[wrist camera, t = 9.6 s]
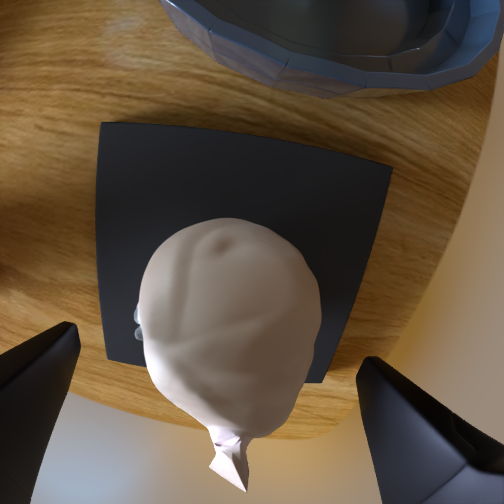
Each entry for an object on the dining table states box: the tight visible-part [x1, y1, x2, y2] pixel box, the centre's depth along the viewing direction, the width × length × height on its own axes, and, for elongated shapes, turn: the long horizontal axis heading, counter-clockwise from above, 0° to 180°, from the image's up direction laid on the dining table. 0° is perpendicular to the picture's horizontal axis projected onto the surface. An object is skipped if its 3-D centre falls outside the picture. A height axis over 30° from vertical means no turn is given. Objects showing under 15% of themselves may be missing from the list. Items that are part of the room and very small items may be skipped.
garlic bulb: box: [134, 218, 321, 492], centre depth 9 cm, size 7×6×8 cm
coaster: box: [95, 122, 393, 383], centre depth 13 cm, size 12×12×1 cm
